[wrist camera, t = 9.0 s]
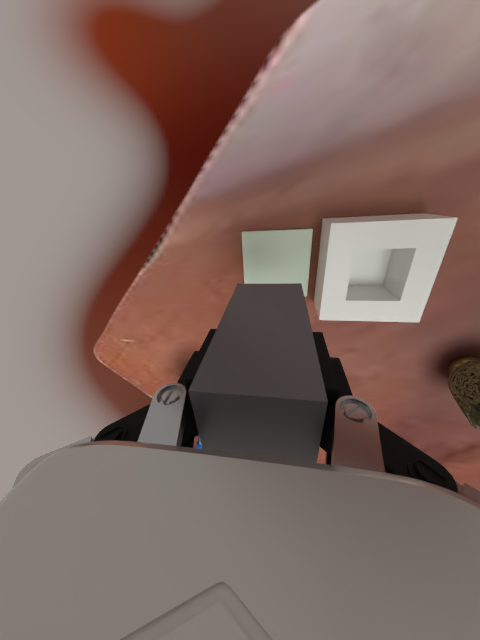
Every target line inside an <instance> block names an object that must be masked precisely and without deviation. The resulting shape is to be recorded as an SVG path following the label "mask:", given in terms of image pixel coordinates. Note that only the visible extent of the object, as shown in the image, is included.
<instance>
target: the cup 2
mask: <svg viewBox="0 0 480 640" xmlns="http://www.w3.org/2000/svg"><path fill="white" fill-rule="evenodd" d="M448 371H449V374H450V376H449V380H448V384H449V389H450V391H451V393H452V395H453V397H454V399H455V400H456V402H457V403H458V405H459V407H460V408H461V410H462V411H463V413H464V414H465V416H466V417H467V419H468V421H469V422H470V423H471V425H472V426H473V427H474V428H475V429H477V426H480V359H479V358H476V357H473V356H460V357H457V358H455V359H454V360H452V361H451V362H450V363H449V365H448ZM476 425H477V426H476Z"/></svg>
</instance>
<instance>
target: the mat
mask: <svg viewBox="0 0 480 640" xmlns="http://www.w3.org/2000/svg"><path fill="white" fill-rule="evenodd" d="M312 234H313V229H289V230H265V231H242V250H243V268H244V284H294V283H301V284H302V288H303V293H304V296H307V290H308V279H309V268H310V257H311V245H312Z"/></svg>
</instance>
